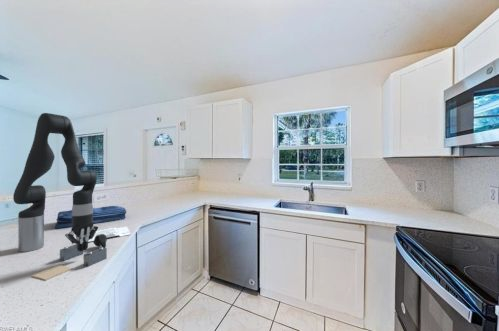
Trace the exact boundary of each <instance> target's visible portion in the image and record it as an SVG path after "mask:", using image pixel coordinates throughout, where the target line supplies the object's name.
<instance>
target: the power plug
mask: <svg viewBox="0 0 499 331" xmlns="http://www.w3.org/2000/svg"><path fill="white" fill-rule="evenodd" d="M107 241H108V238H107V237H106V235H104V234H100V235H97V236H96V237H95V239H94V241H93V245H94V246H96V247H103V248H106V247H107Z"/></svg>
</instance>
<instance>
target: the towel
mask: <svg viewBox="0 0 499 331" xmlns="http://www.w3.org/2000/svg"><path fill="white" fill-rule="evenodd" d="M126 214H127V210H126V208H125V207H124V206H119V205H108V206H101V207H93V222H92V223H93V225H94V224H99V223H101V224H102V223H108V222H116V221H115V220H117V221H121V220H125V219H126ZM124 218H125V219H124ZM120 219H121V220H120ZM72 227H73V226H72V209H70V210H63V211H59V212H58V213H57V218H56V223H55V226H54V229H56V230H59V229H66V228H72Z"/></svg>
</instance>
